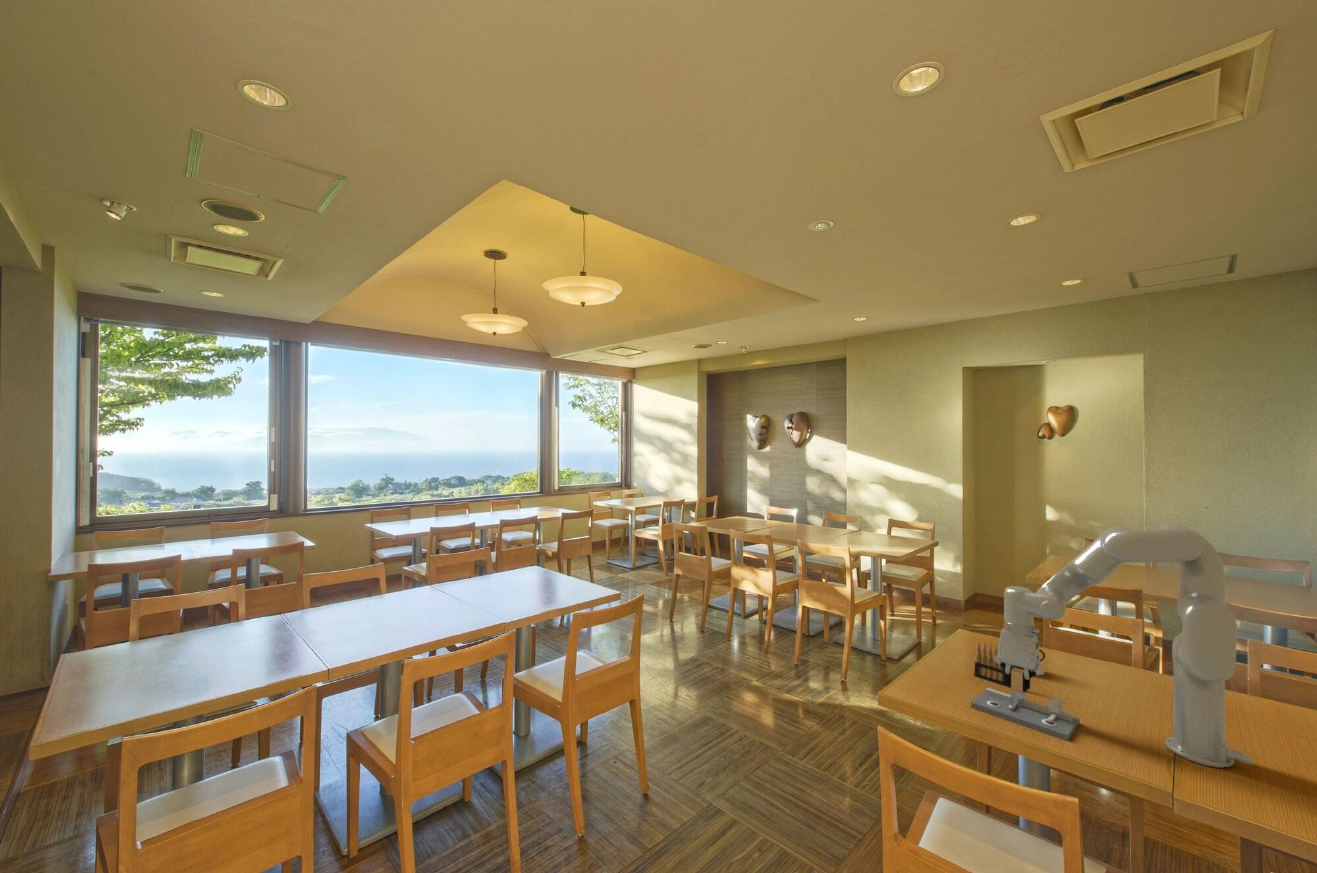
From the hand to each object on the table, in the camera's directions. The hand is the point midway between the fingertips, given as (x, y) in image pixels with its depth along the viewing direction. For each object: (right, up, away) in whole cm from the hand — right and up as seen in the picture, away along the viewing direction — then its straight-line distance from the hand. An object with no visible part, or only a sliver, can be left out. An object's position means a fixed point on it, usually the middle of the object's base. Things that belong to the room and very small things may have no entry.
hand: (1018, 687), depth 163 cm
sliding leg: (-2, -5, -2) cm, 5 cm away
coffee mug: (+20, -7, +28) cm, 35 cm away
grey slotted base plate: (-1, -6, -4) cm, 8 cm away
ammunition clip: (+4, -7, +19) cm, 20 cm away
